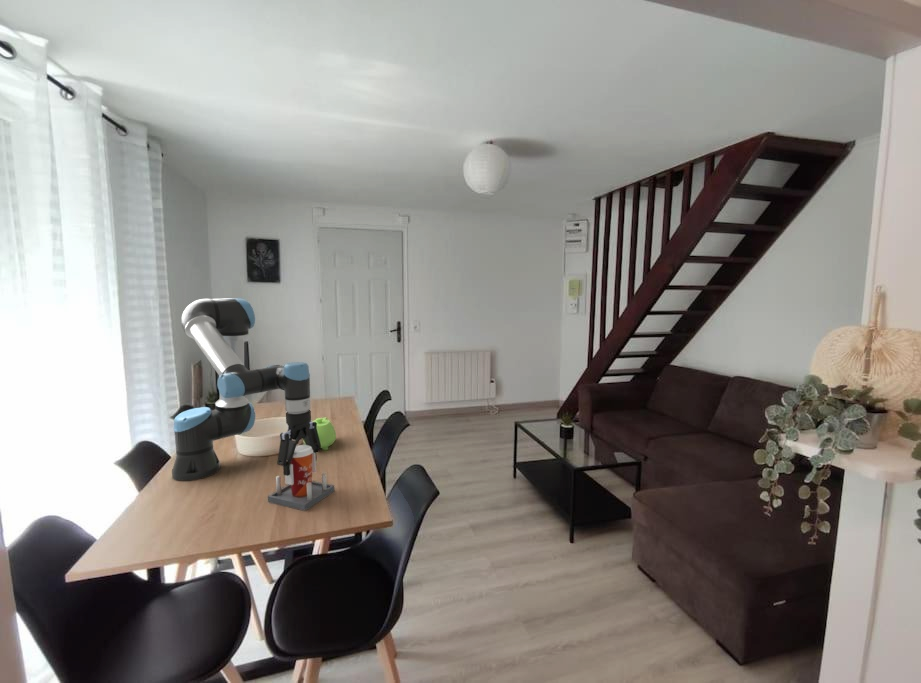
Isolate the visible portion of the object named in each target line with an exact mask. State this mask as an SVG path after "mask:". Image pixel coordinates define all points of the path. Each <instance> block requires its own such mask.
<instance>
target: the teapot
mask: <svg viewBox="0 0 921 683" xmlns="http://www.w3.org/2000/svg"><path fill="white" fill-rule="evenodd" d="M311 421H312V422H316V423H317V432H318V436H319V440H320V444H321V448H320V449H322V451H327V450H329V447H330V446H331V445H333V444H334V442H335V441H336V439H337V433H336V429H335V427H334V425H333V423H332V422H331V420H329V419H328V417H327V416H326V417H317V418H315V420H311ZM302 442H303V445H306V443H305V442H304V440H303V439H302ZM316 444H317V443H316Z"/></svg>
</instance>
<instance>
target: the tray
mask: <svg viewBox="0 0 921 683" xmlns="http://www.w3.org/2000/svg"><path fill="white" fill-rule="evenodd" d="M275 486H276V487H275V488H276V489H275V490H276V491H274V492H272V493H270V494H269V495H267V503H270V504H275V505H279V506H282V507H287V508H291V509H295V510H300V511H303V512H306V511H307V510H309V509H310V508H311V507H313V506H314V505H316V504H318V503H319V502H321V501H322V500H324V499H325V498H327V497H328V496H329V495H331V494H333V493H334V492H336V491H335V487H336V486H335V485H334V484H329V483H328V482H327V473H322V474H321V482H320V481H316V480H312V487H311V482H308V483H307V495H306V496H303V497H294V496H293V495H292V490H291V485H289V484H286V485H285V486H283V487H282V480H281V475H276V476H275Z"/></svg>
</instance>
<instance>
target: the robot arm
mask: <svg viewBox="0 0 921 683" xmlns="http://www.w3.org/2000/svg"><path fill="white" fill-rule="evenodd" d="M180 323H181V328H182V329H183V331H184V333H185V334H186V336H188V338H190V339H193V340H194V341H195V343H196V345H198V347H199V349H200V350H201V352H202V353H203V354H204V356H205V357H206V359H207V360H208V361H209V363H210V364H211V366H212V367H213V369H214V370H215V372H216V373H217V374H218V378H217V383H216V384H217V389H218V393H219V399H218V400H216V402H214V405H215V406H214V409H211V408H210V407H207V406H203V407H202V406H201V407H195V408H194V407H193V408H190V409H187V410H184V411H182V412H181V413H179V414H177V415H176V416H175V418H174V420H173V432H174V442H175V452H176V453H175V454H176V456H175V459H174V463H173V466H172V470H171V477H172V479H173V480H174V481H180V482H181V481H182V482H184V481H186V482H187V481H188V482H189V481H195V480H200V479H204V478H207V477H210V476H212V475H214V474H216V473H217V472H218V471H219V470H220V469H221V463H220V462H221V461H220V460H219V457H218V456H217V453H216V452H215V448H214V442H215V441H217V440H222V439H225V438H230V437H234V436H237V435H239V436H240V435H241V434H243V433H244V434H245V433H247V432H249V431H251V430H252V428H253V427H254V425H255V422H256V411H255V407H254V405H253V404H252V403H250V400H249V399H248V398H246V397H245V396H249V395H254V394H259V393H266V392H270V391H274V390H275V391H276V390H283V391H284V405H285V407H284V409H285V423H286V424H287V430H286V431H285V432H280V434H279V438H280V442H279V450H278V456H277V465H278V466H282V469H283V475H284V483H285V484H286V485H288V484H289V485H293V484H294V479H293V464H291V461H292V458H293V455H294V451H295V448H296V447H297V446H298V445H299V443H300V441H301V440H302V441H303V440H304V442H305V443H306V445H309V446H311V447H312V449H313V453H312V473H313V472H314V473H316V472H317V453H319V452H320V449H322V448H321V444H320V440H319V436H318V432H317V423H316V422H312V421H313V420H312V411H311V410H310V409H311V384H310V383H311V380H310V379H311V374H310V369H309V368H310V367H309V364H308V363H307V362H303V361H301V362H300V361H293V362H287V363H285V364H284V365H280V364H271V365H268V366H266V367H265V368H263V367H262V368H256V369H250V370H249V369H248V368H247V367H246V366H245V338H246V337H247V336H248V335H249V330H251V329H252V328H254V326H255V324H256V315H255V310H254V308H253V306H252V305H251V303H250V302H249V301H248V300H246V299H244V298H233V297H232V298H200V299H197V300H194V301H193V302H191V303H190V304H188V305H187V306H186V307H185V309H184V310H183V312H182V314H181V319H180ZM316 443H317V444H316Z"/></svg>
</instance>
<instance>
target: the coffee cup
mask: <svg viewBox="0 0 921 683" xmlns="http://www.w3.org/2000/svg"><path fill="white" fill-rule="evenodd" d="M312 453H313V449H312V447H311V446H309V445H304V444H300V445H299V444H297V445H296V448H295V451H294V455H293V458H292V461H291V464H293V479H294V484H293V485H291V490H292V495H293V496H294V497H303V496H306V495H307V483H308V482H311V487H312V481H313V472H312Z"/></svg>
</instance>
